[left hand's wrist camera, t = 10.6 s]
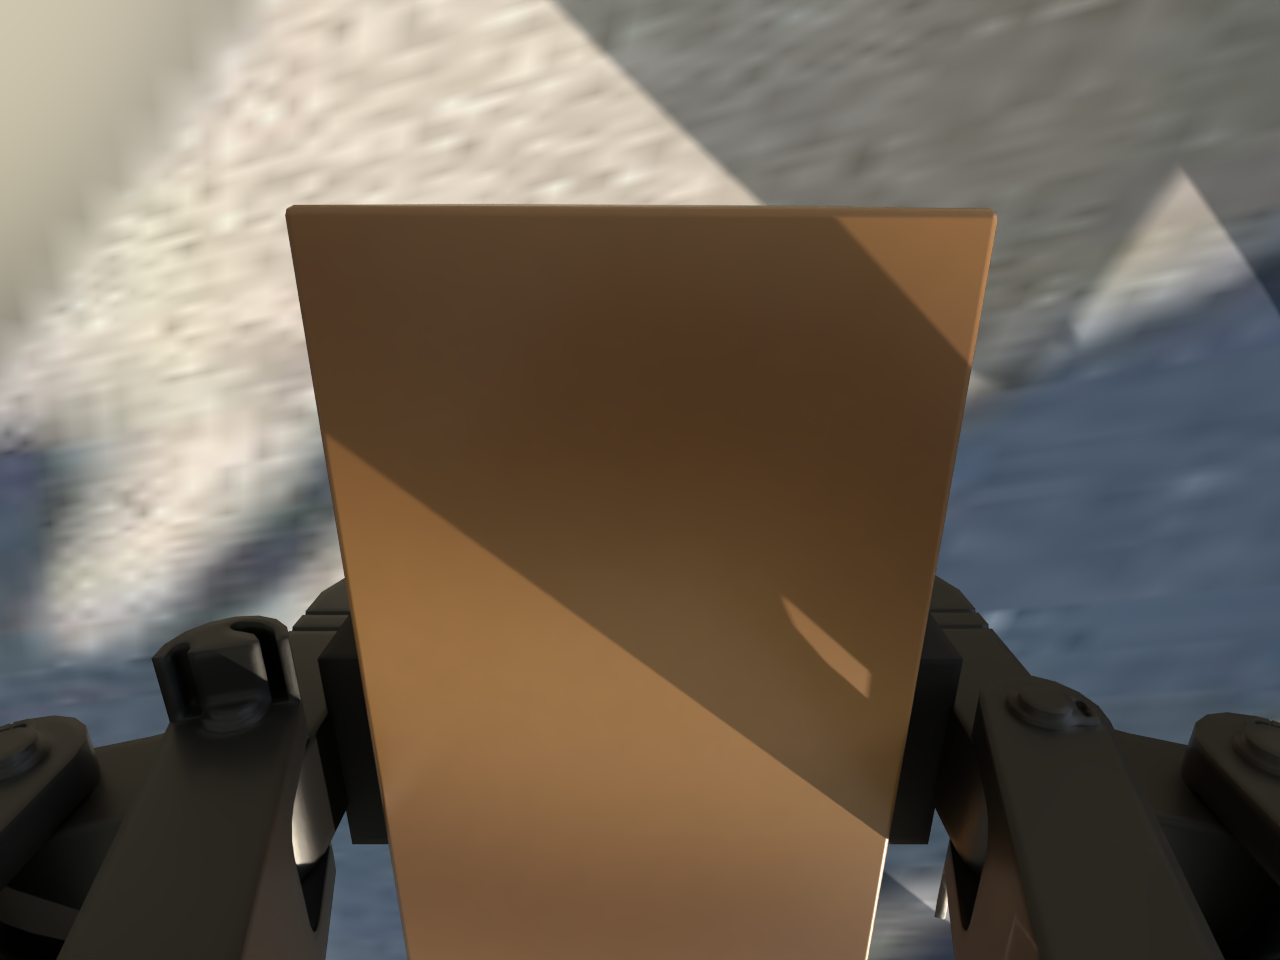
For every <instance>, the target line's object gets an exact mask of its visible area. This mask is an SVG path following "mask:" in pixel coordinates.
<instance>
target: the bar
mask: <svg viewBox="0 0 1280 960" xmlns="http://www.w3.org/2000/svg"><path fill="white" fill-rule="evenodd" d="M285 217H286V223H287V229H288V235H289V241H290V247H291V253H292V259H293V265H294V271H295V278H296V284H297V290H298V296H299V302H300V308H301V314H302V320H303V326H304V332H305V338H306V344H307V351H308V357H309V363H310V369H311V375H312V381H313V387H314V393H315V399H316V405H317V411H318V417H319V424H320V430H321V436H322V442H323V448H324V454H325V460H326V466H327V472H328V478H329V484H330V490H331V496H332V503H333V509H334V515H335V521H336V527H337V533H338V539H339V545H340V551H341V557H342V563H343V569H344V576H345V582H346V588H347V594H348V600H349V606H350V612H351V618H352V624H353V630H354V636H355V642H356V648H357V655H358V661H359V667H360V673H361V679H362V685H363V691H364V697H365V703H366V709H367V715H368V721H369V728H370V734H371V740H372V746H373V752H374V758H375V764H376V770H377V776H378V782H379V788H380V794H381V800H382V807H383V813H384V819H385V825H386V831H387V837H388V843H389V849H390V855H391V861H392V867H393V873H394V880H395V886H396V892H397V898H398V904H399V910H400V916H401V922H402V928H403V934H404V940H405V946H406V953H407V959H408V960H868V955H869V949H870V944H871V938H872V932H873V927H874V921H875V915H876V910H877V904H878V898H879V892H880V887H881V881H882V875H883V870H884V864H885V858H886V853H887V847H888V841H889V835H890V830H891V824H892V818H893V813H894V807H895V801H896V796H897V790H898V784H899V778H900V773H901V767H902V761H903V756H904V750H905V744H906V739H907V733H908V727H909V721H910V716H911V710H912V704H913V699H914V693H915V687H916V682H917V676H918V670H919V664H920V659H921V653H922V647H923V642H924V636H925V630H926V625H927V619H928V613H929V607H930V602H931V596H932V590H933V585H934V579H935V573H936V568H937V562H938V556H939V550H940V545H941V539H942V533H943V528H944V522H945V516H946V511H947V505H948V499H949V493H950V488H951V482H952V476H953V471H954V465H955V459H956V454H957V448H958V442H959V436H960V431H961V425H962V419H963V414H964V408H965V402H966V397H967V391H968V385H969V379H970V374H971V368H972V362H973V357H974V351H975V345H976V340H977V334H978V328H979V322H980V317H981V311H982V305H983V300H984V294H985V288H986V283H987V277H988V271H989V265H990V260H991V254H992V248H993V243H994V237H995V231H996V226H997V213H996V212H995V211H993V210H991V209H978V208H911V207H844V206H748V205H559V204H402V205H293V206H291V207H289V208H287V209H286V215H285Z"/></svg>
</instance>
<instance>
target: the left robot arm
mask: <svg viewBox="0 0 1280 960" xmlns="http://www.w3.org/2000/svg"><path fill="white" fill-rule="evenodd" d="M152 661H153V665H154V668H155V672H156V675H157V679H158V682H159V686H160V689H161V693H162V696H163V700H164V703H165V707H166V710H167V714H168V717H169V721H170V723H169V725H168V727H167V729H166V731H165V733H163V734H159V735H155V736H151V737H146V738H142V739H137V740H132V741H127V742H122V743H117V744H112V745H107V746H102V747H98V748H93V745H92V742H91V739H90V736H89V733H88V730H87V727H86V726H85V725H84V724H83V723H81V722H80V721H79V720H77V719H76V718H72V717H63V716H47V717H40V718H33V719H26V720H21V721H17V722H14V723H13V724H11V725H10V724H7V725H4V726H1V727H0V960H325V958H326V950H327V941H328V933H329V925H330V916H331V908H332V900H333V891H334V883H335V875H336V868H335V861H334V855H333V850H332V845H331V840H332V838H333V836H334V833H335V831H336V829H337V827H338V825H339V823H340V821H341V819H342V817H343V815H344V813H345V811H346V812H347V818H348V823H349V828H350V833H351V839H352V844H389V843H388V837H387V831H386V825H385V819H384V813H383V807H382V800H381V794H380V788H379V782H378V776H377V770H376V764H375V758H374V752H373V746H372V740H371V734H370V728H369V721H368V715H367V709H366V703H365V697H364V691H363V685H362V679H361V673H360V667H359V661H358V655H357V648H356V642H355V636H354V630H353V624H352V618H351V612H350V606H349V600H348V594H347V588H346V582H345V578H344V579H342V580H341V581H339V582H337V583H336V584H334V585H333V586H331V587H329V588H328V589H326V590H324V591H323V592H321V593H320V595H319V596H318V597H317V598H316V600H315V601H314V602H313V603H312V604H311V606H310V607H309V608H308V609H307V610H306V615H302V616H301V618H300V619H299V620H298V621H297V622H296V624H295V625H294V626H293V630H292V631H289V632H288V630H287V627H286V626H285V625H284V624H282V623H281V622H280V621H278V620H277V619H273V618H268V617H263V616H240V617H232V618H227V619H223V620H218V621H213V622H209V623H207V624H204V625H202V626H199V627H196V628H194V629H191V630H189V631H186V632H184V633H182V634H181V635H179V636H178V637H176V638H174V639H173V640H171V641H169V642H168V643H166V644H165V645H164V646H163V647H162V648H161V649H160V650H159V651H158V652H157V653H156V654H155V655H154V656H153V657H152ZM935 808H936V811H937V813H938V815H939V817H940V819H941V821H942V823H943V825H944V827H945V829H946V831H947V833H948V835H949V837H950V840H949V845H948V850H947V855H946V860H945V864H944V869H943V874H942V879H941V884H940V889H939V894H938V899H937V905H936V911H935V917H937V918H941V919H945V915H946V910H947V905H948V906H949V914H950V923H951V931H952V939H953V948H954V956H955V960H1280V723H1279V722H1276V721H1273V720H1272V721H1269V720H1268V719H1266V718H1261V717H1257V716H1250V715H1243V714H1236V713H1228V712H1226V713H1217V714H1208V715H1206V716H1204V717H1203V718H1202V719H1200V720H1199V721H1197V722H1196V723H1195V726H1194V729H1193V732H1192V735H1191V738H1190V741H1189V744H1188V745H1184V744H1179V743H1174V742H1169V741H1164V740H1159V739H1154V738H1150V737H1145V736H1140V735H1135V734H1130V733H1126V732H1122V731H1118V730H1114V728H1113V726H1112V724H1111V722H1110V720H1109V719H1108V718H1107V716H1106V715H1105V714H1104V713H1103V711H1102V710H1101V709H1100V708H1099V706H1098V705H1096V704H1095V703H1093V702H1092V701H1091V700H1089V699H1088V698H1086V697H1085V696H1084V695H1082V694H1081V693H1079V692H1077V691H1075V690H1073V689H1071V688H1068V687H1066V686H1064V685H1062V684H1060V683H1057V682H1055V681H1051V680H1047V679H1043V678H1039V677H1035V676H1031V675H1030V674H1029V672H1028V671H1027V670H1026V669H1025V668H1024V666H1023V665H1022V664H1021V663H1020V662H1019V660H1018V659H1017V658H1016V657H1015V656H1014V654H1013V653H1012V652H1011V651H1010V650H1009V649H1008V647H1007V646H1006V645H1005V644H1004V643H1003V641H1002V640H1001V639H1000V638H999V637H998V635H997V634H996V633H995V632H994V631H993V629H989V627H988V623H987V622H986V621H985V620H984V619H983V618H982V616H981V615H980V614H979V613H976V612H975V608H974V607H973V606H972V604H971V603H970V602H969V601H968V600H967V598H966V597H965V596H964V595H963V594H962V592H961V591H960V590H959V589H957V588H955V587H954V586H952V585H950V584H949V583H947V582H946V581H944V580H942V579H941V578H939V577H937V576H936V575H935V579H934V585H933V590H932V596H931V602H930V607H929V613H928V619H927V625H926V630H925V636H924V642H923V647H922V653H921V659H920V664H919V670H918V676H917V682H916V687H915V693H914V699H913V704H912V710H911V716H910V721H909V727H908V733H907V739H906V744H905V750H904V756H903V761H902V767H901V773H900V778H899V784H898V790H897V796H896V801H895V807H894V813H893V818H892V824H891V830H890V835H889V841H888V844H928V841H929V836H930V831H931V825H932V820H933V815H934V810H935Z"/></svg>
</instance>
